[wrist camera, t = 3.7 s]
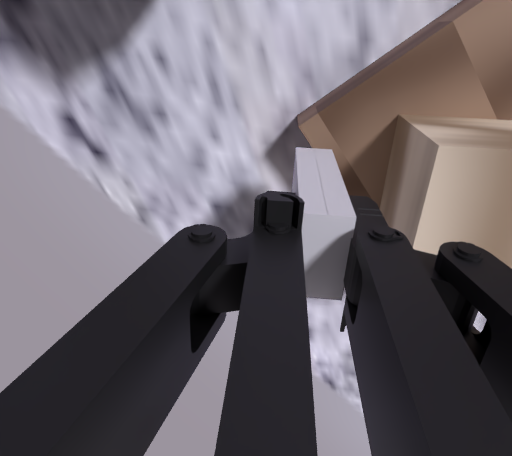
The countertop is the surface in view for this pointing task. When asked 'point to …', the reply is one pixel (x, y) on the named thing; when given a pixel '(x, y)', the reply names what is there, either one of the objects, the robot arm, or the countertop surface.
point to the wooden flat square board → (416, 90)
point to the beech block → (451, 183)
